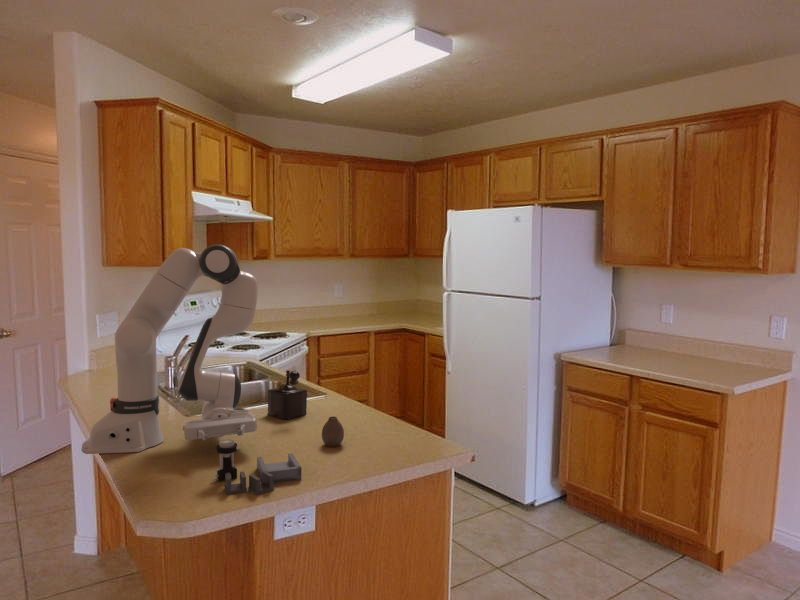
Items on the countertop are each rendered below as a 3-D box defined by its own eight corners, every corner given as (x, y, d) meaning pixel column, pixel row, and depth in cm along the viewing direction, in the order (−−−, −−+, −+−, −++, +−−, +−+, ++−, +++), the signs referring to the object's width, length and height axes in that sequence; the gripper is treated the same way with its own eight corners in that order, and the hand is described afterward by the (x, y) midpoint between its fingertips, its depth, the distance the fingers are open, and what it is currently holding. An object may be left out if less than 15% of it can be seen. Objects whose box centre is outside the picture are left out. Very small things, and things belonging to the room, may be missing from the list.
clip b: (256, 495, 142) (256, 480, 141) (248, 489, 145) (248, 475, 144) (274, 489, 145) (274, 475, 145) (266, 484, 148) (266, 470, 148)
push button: (215, 485, 147) (215, 447, 146) (208, 478, 151) (207, 441, 150) (240, 479, 151) (240, 442, 150) (232, 473, 155) (232, 437, 154)
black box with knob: (265, 415, 210) (265, 366, 209) (289, 409, 219) (289, 362, 217) (293, 423, 200) (293, 372, 199) (316, 417, 209) (317, 368, 207)
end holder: (263, 484, 148) (263, 472, 148) (257, 468, 159) (257, 457, 159) (301, 479, 152) (301, 467, 152) (292, 464, 162) (292, 453, 162)
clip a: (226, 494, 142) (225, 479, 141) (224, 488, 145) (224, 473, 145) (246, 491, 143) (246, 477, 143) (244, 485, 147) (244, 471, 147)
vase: (326, 449, 175) (326, 421, 174) (318, 443, 181) (318, 415, 180) (347, 446, 178) (347, 419, 177) (339, 440, 184) (339, 413, 183)
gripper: (181, 415, 170) (183, 428, 158) (252, 407, 178) (259, 419, 165) (182, 436, 171) (184, 451, 158) (253, 427, 179) (259, 441, 166)
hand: (223, 435), depth 162 cm, fingers open, 8 cm apart
